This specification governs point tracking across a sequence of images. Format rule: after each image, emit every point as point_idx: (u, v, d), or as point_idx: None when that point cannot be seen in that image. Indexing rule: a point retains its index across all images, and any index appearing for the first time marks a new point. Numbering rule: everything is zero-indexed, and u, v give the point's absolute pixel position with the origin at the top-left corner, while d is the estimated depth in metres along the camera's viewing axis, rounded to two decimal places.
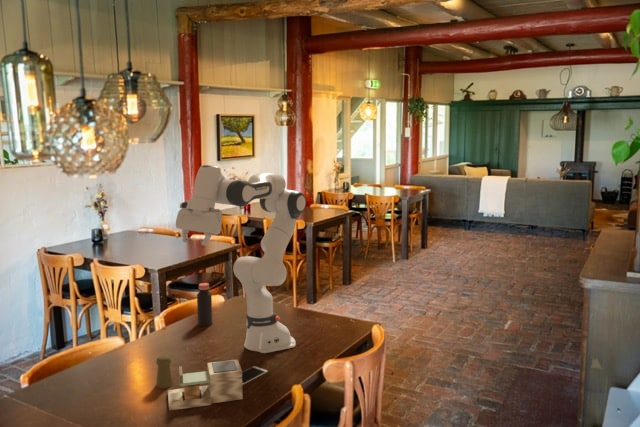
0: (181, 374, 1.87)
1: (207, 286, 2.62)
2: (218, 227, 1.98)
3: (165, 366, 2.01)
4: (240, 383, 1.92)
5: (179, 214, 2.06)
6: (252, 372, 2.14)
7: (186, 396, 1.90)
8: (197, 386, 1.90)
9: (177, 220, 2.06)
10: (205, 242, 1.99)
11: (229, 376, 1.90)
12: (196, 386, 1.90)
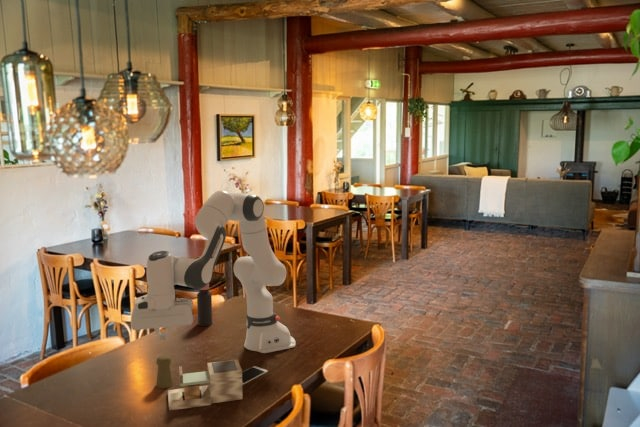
0: (181, 374, 1.87)
1: (207, 286, 2.62)
2: None
3: (165, 366, 2.01)
4: (240, 383, 1.92)
5: (135, 315, 1.81)
6: (252, 372, 2.14)
7: (186, 396, 1.90)
8: (197, 386, 1.90)
9: (133, 322, 1.81)
10: None
11: (229, 376, 1.90)
12: (196, 386, 1.90)
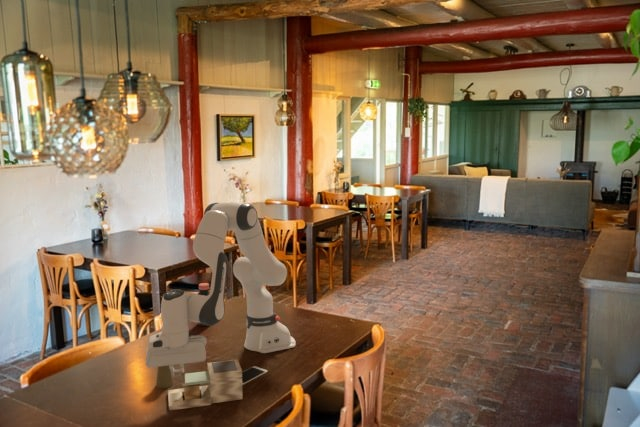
0: (183, 374, 1.88)
1: (207, 286, 2.62)
2: None
3: (165, 366, 2.01)
4: (240, 383, 1.92)
5: (150, 353, 1.84)
6: (252, 372, 2.14)
7: (186, 396, 1.90)
8: (197, 386, 1.90)
9: (148, 360, 1.85)
10: None
11: (229, 376, 1.90)
12: (196, 386, 1.90)
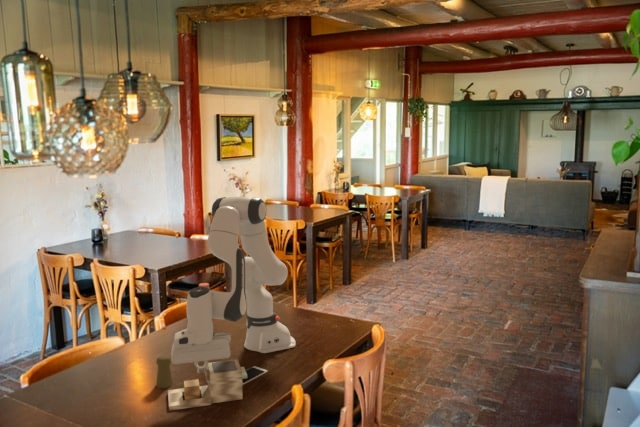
0: (208, 371, 1.90)
1: (207, 286, 2.62)
2: None
3: (165, 366, 2.01)
4: (240, 383, 1.92)
5: (176, 350, 1.87)
6: (252, 372, 2.14)
7: (186, 396, 1.90)
8: (197, 386, 1.90)
9: (174, 357, 1.87)
10: (205, 368, 1.93)
11: (229, 376, 1.90)
12: (196, 386, 1.90)
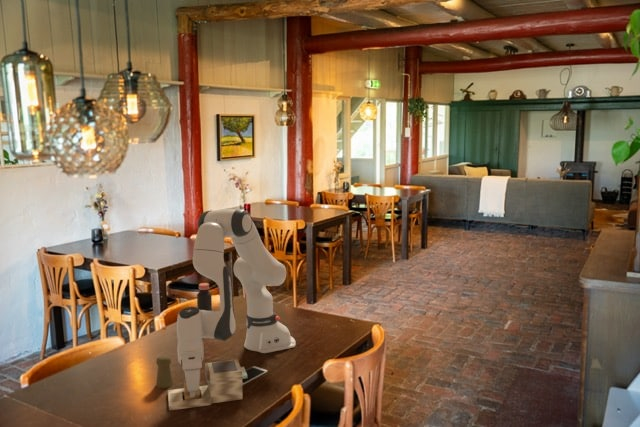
0: (208, 371, 1.90)
1: (207, 286, 2.62)
2: None
3: (165, 366, 2.01)
4: (240, 383, 1.92)
5: None
6: (252, 372, 2.14)
7: (186, 396, 1.90)
8: None
9: None
10: None
11: (229, 376, 1.90)
12: None
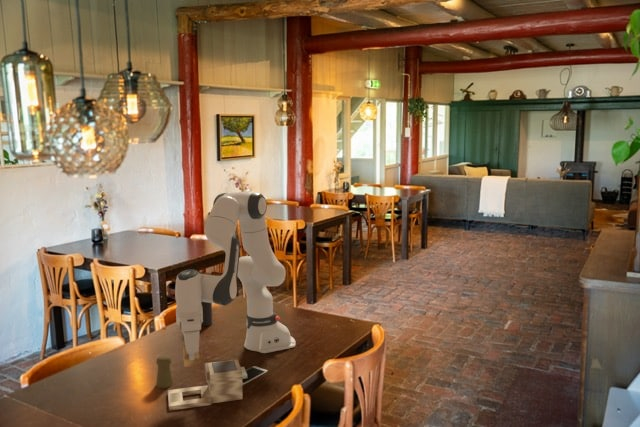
0: (208, 371, 1.90)
1: None
2: None
3: (165, 366, 2.01)
4: (240, 383, 1.92)
5: None
6: (252, 372, 2.14)
7: (185, 359, 1.88)
8: None
9: None
10: None
11: (229, 376, 1.90)
12: None
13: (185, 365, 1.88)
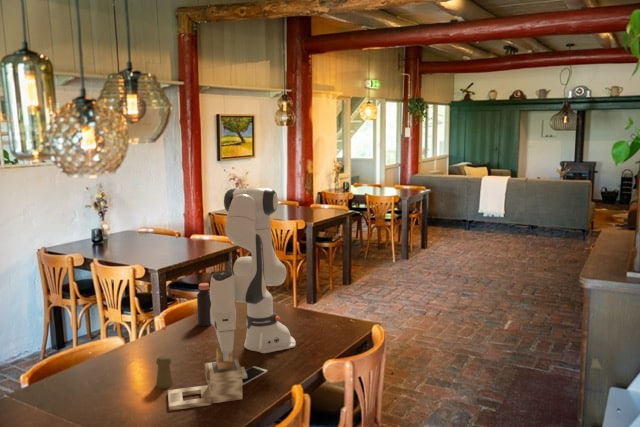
0: (208, 371, 1.90)
1: (207, 286, 2.62)
2: None
3: (165, 366, 2.01)
4: (240, 383, 1.92)
5: None
6: (252, 372, 2.14)
7: (219, 362, 1.91)
8: None
9: None
10: None
11: (229, 376, 1.90)
12: None
13: (219, 368, 1.92)
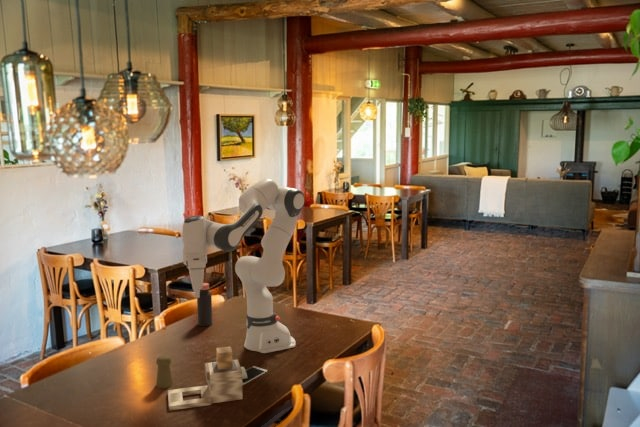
0: (208, 371, 1.90)
1: (207, 286, 2.62)
2: None
3: (165, 366, 2.01)
4: (240, 383, 1.92)
5: None
6: (252, 372, 2.14)
7: (219, 362, 1.91)
8: (230, 352, 1.92)
9: None
10: None
11: (229, 376, 1.90)
12: (229, 352, 1.92)
13: (219, 368, 1.92)
